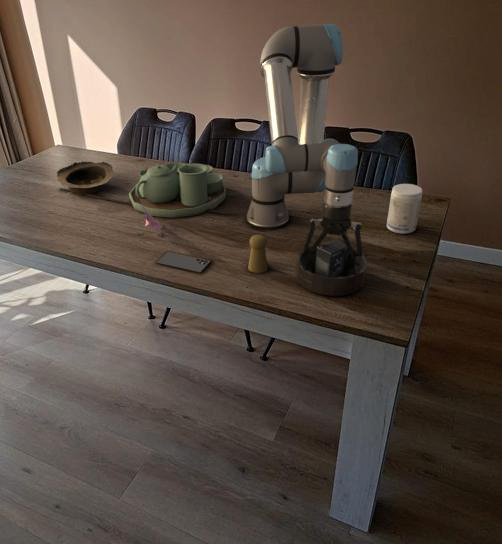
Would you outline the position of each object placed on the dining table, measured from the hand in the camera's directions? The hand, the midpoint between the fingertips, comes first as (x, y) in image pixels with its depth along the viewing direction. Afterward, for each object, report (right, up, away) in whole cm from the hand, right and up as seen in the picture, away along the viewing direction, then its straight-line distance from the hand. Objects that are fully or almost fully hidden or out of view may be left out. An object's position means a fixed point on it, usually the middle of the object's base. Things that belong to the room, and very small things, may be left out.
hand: (330, 273), depth 148 cm
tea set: (-46, +31, +60) cm, 82 cm away
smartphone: (-44, +3, +15) cm, 46 cm away
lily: (-55, +14, +34) cm, 67 cm away
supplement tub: (+32, +15, +26) cm, 44 cm away
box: (0, -1, +1) cm, 2 cm away
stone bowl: (-86, +37, +75) cm, 120 cm away
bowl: (0, -2, +1) cm, 2 cm away
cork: (-20, +1, +9) cm, 22 cm away
